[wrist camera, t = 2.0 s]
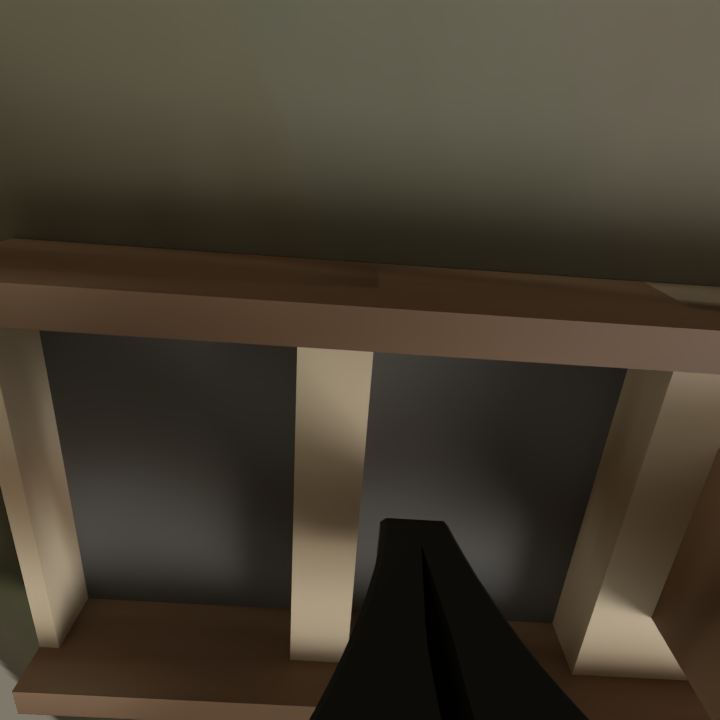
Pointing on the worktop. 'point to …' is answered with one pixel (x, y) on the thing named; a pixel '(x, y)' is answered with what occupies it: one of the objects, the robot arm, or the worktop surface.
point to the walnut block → (696, 598)
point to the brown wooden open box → (338, 467)
